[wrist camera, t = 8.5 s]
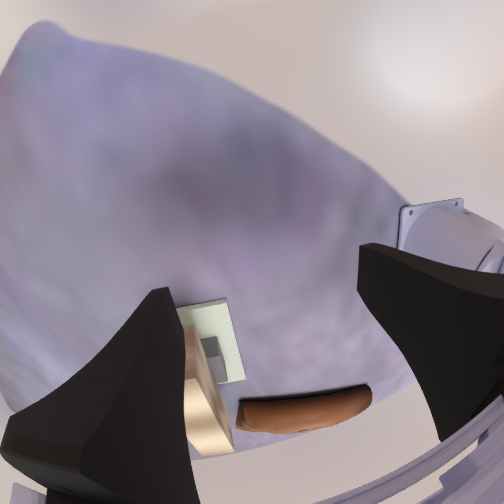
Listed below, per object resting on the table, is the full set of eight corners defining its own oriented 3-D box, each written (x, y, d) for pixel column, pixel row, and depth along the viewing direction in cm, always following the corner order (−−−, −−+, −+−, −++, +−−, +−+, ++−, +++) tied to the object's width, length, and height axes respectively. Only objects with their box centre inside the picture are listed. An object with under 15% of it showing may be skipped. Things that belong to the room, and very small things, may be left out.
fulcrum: (225, 298, 22) (230, 321, 19) (245, 374, 26) (250, 397, 23) (133, 315, 21) (127, 339, 18) (171, 386, 25) (170, 409, 23)
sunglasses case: (231, 431, 31) (241, 457, 25) (232, 387, 32) (242, 408, 26) (346, 415, 35) (369, 431, 29) (351, 375, 36) (378, 388, 30)
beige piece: (227, 409, 24) (234, 451, 19) (198, 414, 24) (202, 455, 19) (194, 324, 19) (195, 378, 14) (154, 330, 18) (147, 384, 14)
